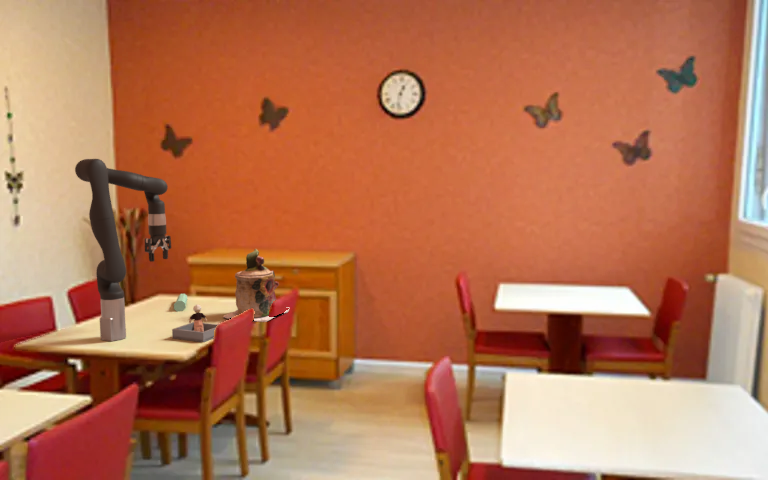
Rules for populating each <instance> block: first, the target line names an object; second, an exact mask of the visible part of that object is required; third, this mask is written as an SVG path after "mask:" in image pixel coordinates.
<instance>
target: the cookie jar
mask: <svg viewBox="0 0 768 480" xmlns="http://www.w3.org/2000/svg"><path fill="white" fill-rule="evenodd" d="M259 253H260V251H259V250H258V249H257V248H254V250H253V251H252V252H249V253H247V254H246V257H245V258H246V259H245V261H246V268H245V269H244V270H241V271H238V272H236V273H235V275H234V279H236V283H235V284H236V288H235V306H236V308H237V310H235V311H231V312H229V313H226V314H225V315H222V317H223V319H228V320H231V319H230V318H232V317H234V316H236V315H239V314H241V313H243V312H244V311H246V310H248V309H251V308H253V309H254V311H255V314H254V321H253V322H258V323H259V322H260V323H266V322H269V321H270V320H273V318H275V317H269V316H268V315H269V310H270V306H271V304H272V303H273V301H275V300H277V297H276V292H275V291H276V289H277V288H278V287H279V285H280V283H279V281H275V279H276V275H275V271H274V270H270V269H269V268H268V267H266V266H264V264H265V259H264V257H263V256H260V254H259ZM289 311H290V308H289V309H288V310H286V311H285V312H284V314H287V313H288V312H289Z"/></svg>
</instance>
